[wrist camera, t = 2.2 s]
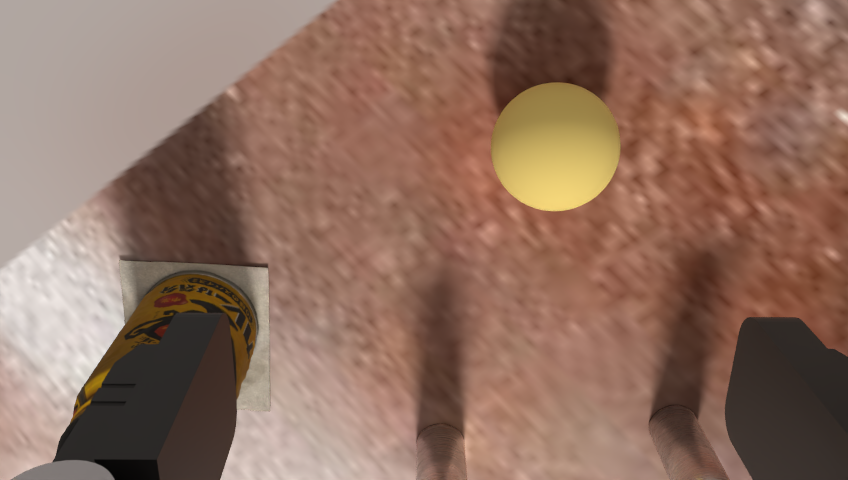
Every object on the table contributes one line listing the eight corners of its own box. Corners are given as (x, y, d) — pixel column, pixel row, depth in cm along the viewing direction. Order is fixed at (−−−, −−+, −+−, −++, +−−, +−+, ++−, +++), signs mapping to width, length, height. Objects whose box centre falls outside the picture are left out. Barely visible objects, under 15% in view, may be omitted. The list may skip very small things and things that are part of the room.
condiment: (268, 266, 40) (210, 404, 29) (270, 409, 43) (219, 583, 32) (120, 258, 40) (5, 394, 29) (133, 402, 43) (34, 576, 32)
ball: (605, 65, 36) (635, 92, 31) (605, 181, 38) (633, 224, 33) (482, 76, 36) (492, 105, 31) (489, 191, 39) (500, 235, 33)
